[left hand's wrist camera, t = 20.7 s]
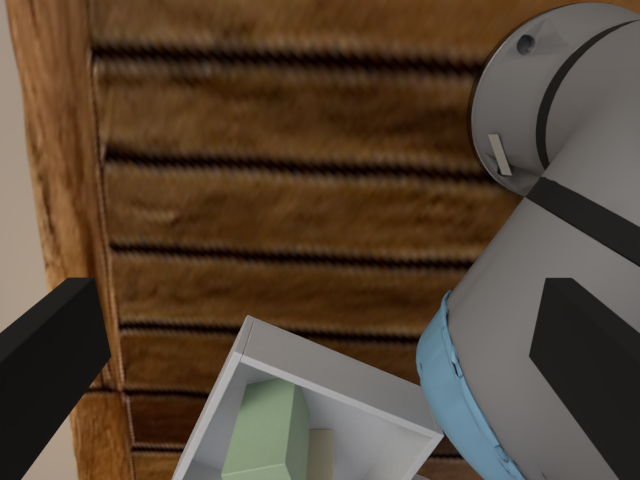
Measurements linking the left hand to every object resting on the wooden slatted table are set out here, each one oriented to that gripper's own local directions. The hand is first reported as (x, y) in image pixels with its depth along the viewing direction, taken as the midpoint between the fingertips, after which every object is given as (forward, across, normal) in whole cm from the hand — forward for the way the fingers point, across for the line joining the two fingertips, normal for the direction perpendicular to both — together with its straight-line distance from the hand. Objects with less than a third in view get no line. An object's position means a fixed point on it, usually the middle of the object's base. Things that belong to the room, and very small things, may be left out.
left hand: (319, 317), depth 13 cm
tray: (+16, -4, +22) cm, 28 cm away
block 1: (+15, +3, +17) cm, 23 cm away
